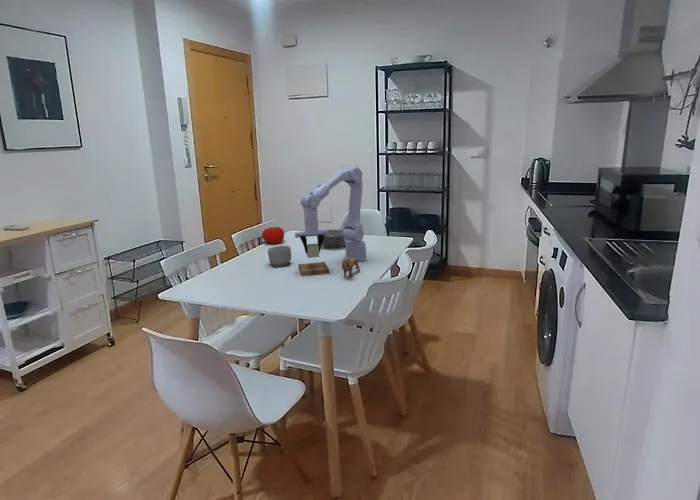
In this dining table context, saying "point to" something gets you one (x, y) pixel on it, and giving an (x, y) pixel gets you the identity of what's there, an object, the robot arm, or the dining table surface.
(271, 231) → the tomato
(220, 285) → the dining table surface
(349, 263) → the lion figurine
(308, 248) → the block
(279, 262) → the teacup
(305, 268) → the base
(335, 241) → the bowl
